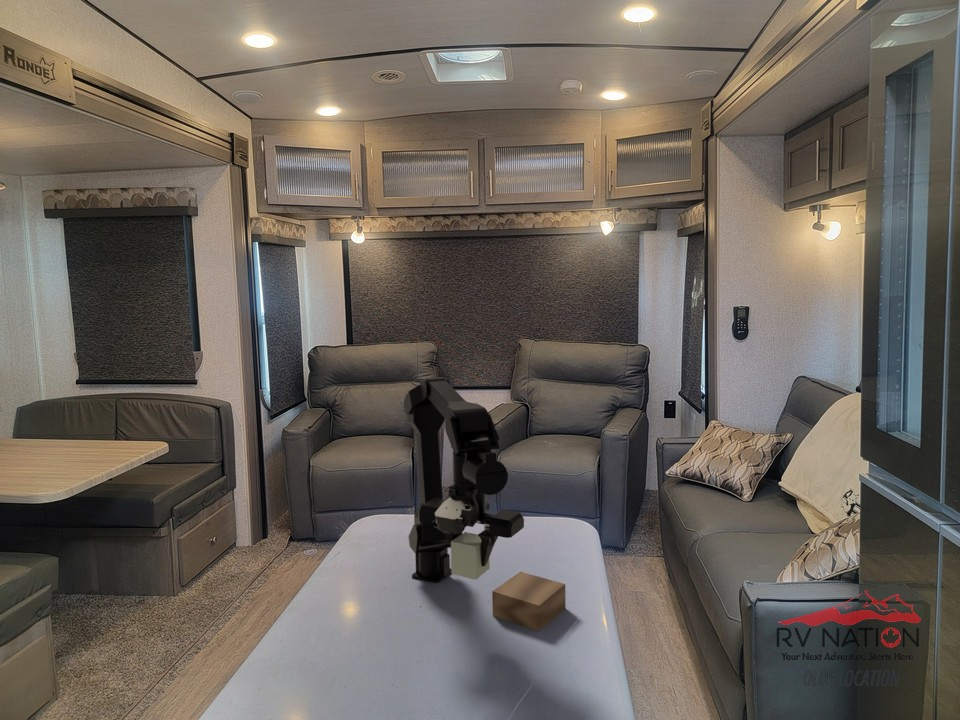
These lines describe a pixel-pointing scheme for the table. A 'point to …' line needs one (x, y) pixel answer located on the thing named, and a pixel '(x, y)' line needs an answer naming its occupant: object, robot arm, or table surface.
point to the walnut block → (529, 600)
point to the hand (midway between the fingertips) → (470, 562)
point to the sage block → (467, 556)
